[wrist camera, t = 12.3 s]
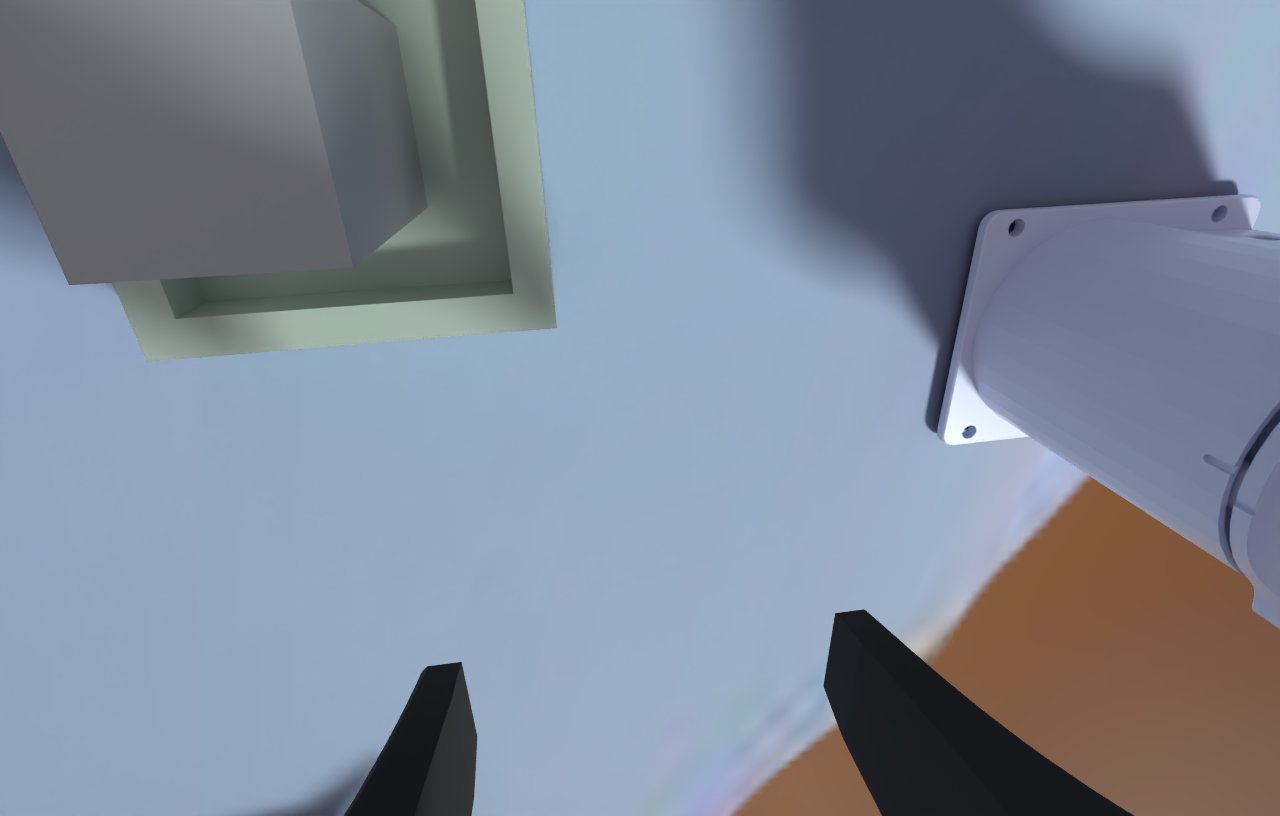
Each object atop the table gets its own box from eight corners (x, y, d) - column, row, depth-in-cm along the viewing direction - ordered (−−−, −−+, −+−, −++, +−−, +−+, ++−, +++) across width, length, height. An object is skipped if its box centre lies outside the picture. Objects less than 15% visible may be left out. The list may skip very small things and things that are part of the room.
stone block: (396, 25, 14) (277, -50, 8) (427, 207, 16) (353, 267, 9) (208, 28, 13) (-82, -50, 7) (263, 215, 15) (69, 285, 9)
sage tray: (510, -133, 13) (505, -171, 12) (554, 306, 18) (556, 327, 16) (7, -138, 12) (-84, -181, 10) (188, 335, 17) (145, 361, 15)
